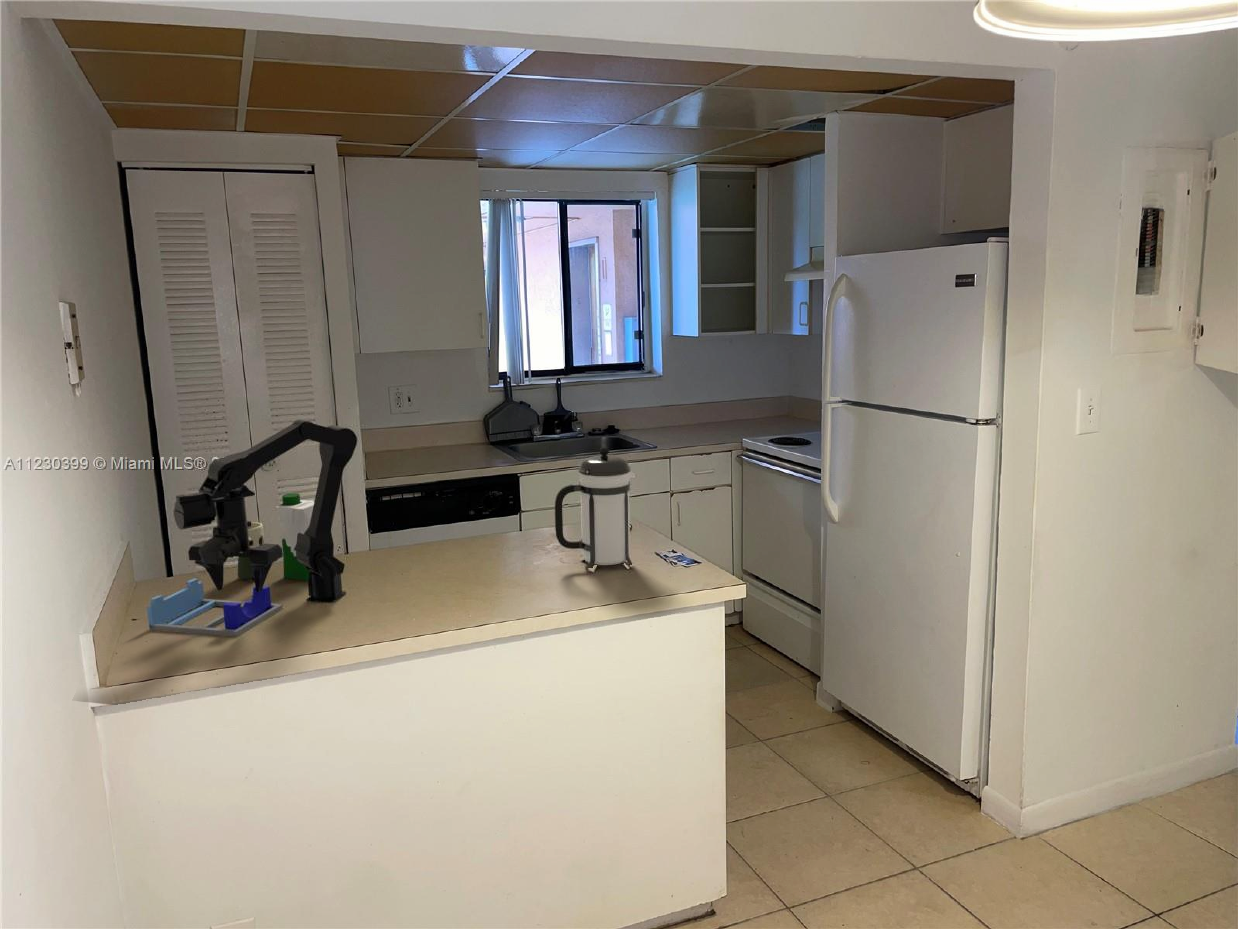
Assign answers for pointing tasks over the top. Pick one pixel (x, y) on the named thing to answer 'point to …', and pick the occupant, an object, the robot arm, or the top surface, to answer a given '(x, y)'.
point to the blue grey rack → (195, 612)
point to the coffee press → (600, 510)
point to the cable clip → (247, 609)
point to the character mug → (258, 539)
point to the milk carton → (293, 532)
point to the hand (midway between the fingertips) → (239, 591)
